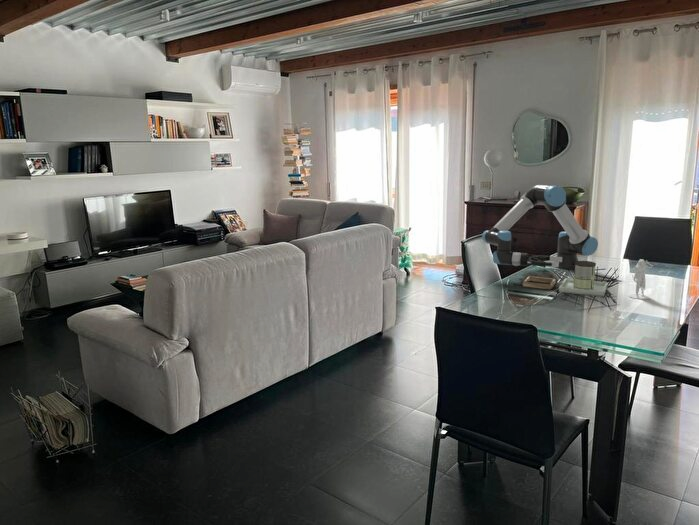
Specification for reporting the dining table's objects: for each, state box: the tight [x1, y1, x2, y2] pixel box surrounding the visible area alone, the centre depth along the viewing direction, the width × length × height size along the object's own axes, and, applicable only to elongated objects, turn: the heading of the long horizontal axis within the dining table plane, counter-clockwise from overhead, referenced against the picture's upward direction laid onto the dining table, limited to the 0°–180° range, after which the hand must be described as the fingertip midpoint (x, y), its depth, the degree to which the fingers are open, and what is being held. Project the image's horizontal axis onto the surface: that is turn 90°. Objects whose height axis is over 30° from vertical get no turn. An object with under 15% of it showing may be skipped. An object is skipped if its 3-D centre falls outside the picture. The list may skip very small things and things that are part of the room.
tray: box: [558, 278, 608, 298], centre depth 287 cm, size 22×22×2 cm
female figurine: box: [628, 258, 654, 300], centre depth 268 cm, size 11×16×20 cm
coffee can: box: [573, 260, 597, 290], centre depth 286 cm, size 10×10×14 cm
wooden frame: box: [522, 275, 557, 290], centre depth 298 cm, size 15×15×2 cm
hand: (560, 262), depth 292 cm, fingers open, 13 cm apart
